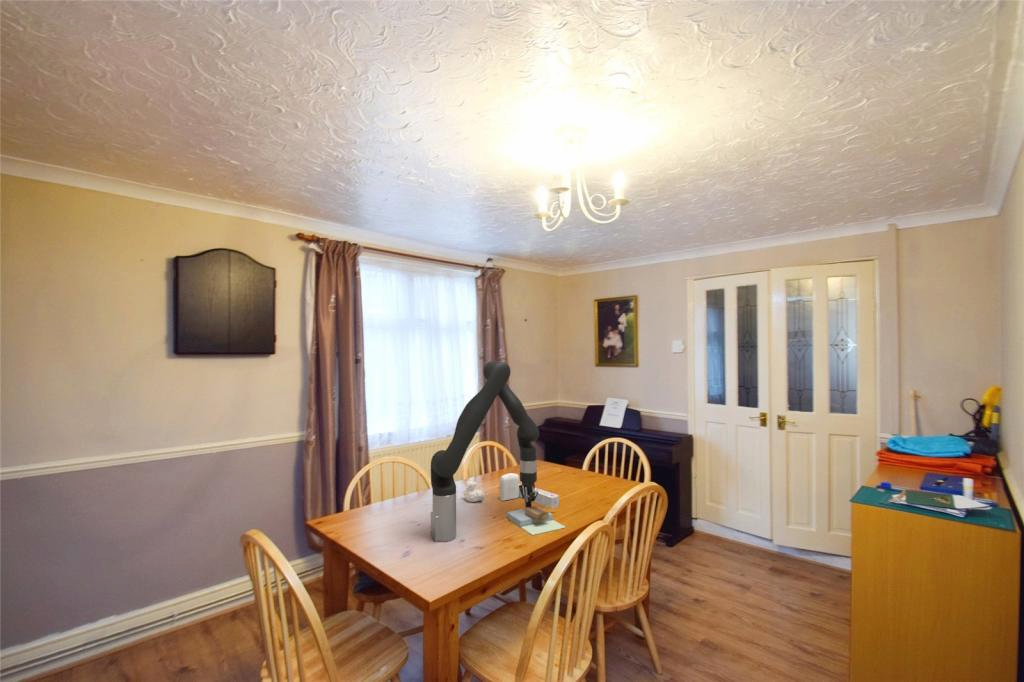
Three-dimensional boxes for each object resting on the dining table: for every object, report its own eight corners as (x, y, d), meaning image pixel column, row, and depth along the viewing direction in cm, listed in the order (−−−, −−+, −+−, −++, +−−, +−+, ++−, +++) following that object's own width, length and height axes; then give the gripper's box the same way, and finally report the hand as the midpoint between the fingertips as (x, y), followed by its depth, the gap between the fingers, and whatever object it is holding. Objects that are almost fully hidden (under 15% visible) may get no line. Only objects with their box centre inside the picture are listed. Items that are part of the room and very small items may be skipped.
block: (536, 521, 181) (536, 514, 181) (525, 514, 189) (525, 507, 189) (548, 519, 184) (548, 511, 184) (536, 512, 192) (536, 505, 192)
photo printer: (515, 495, 222) (515, 471, 223) (520, 498, 219) (520, 473, 219) (498, 499, 217) (498, 474, 217) (502, 502, 213) (502, 476, 213)
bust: (462, 503, 217) (454, 489, 212) (469, 491, 223) (461, 476, 217) (482, 507, 211) (474, 493, 205) (489, 494, 216) (481, 480, 211)
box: (559, 506, 207) (559, 494, 207) (552, 509, 203) (552, 497, 204) (519, 493, 227) (519, 482, 227) (512, 495, 223) (512, 484, 224)
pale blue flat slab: (520, 527, 182) (520, 521, 182) (507, 517, 192) (506, 512, 192) (552, 520, 189) (552, 514, 189) (538, 511, 200) (537, 506, 200)
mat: (532, 535, 173) (532, 534, 173) (521, 527, 181) (521, 526, 181) (565, 527, 181) (565, 527, 181) (553, 520, 189) (553, 519, 189)
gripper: (513, 467, 196) (513, 506, 196) (528, 474, 185) (528, 516, 184) (527, 465, 200) (527, 504, 199) (543, 472, 188) (543, 513, 188)
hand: (528, 510), depth 192 cm, fingers closed
